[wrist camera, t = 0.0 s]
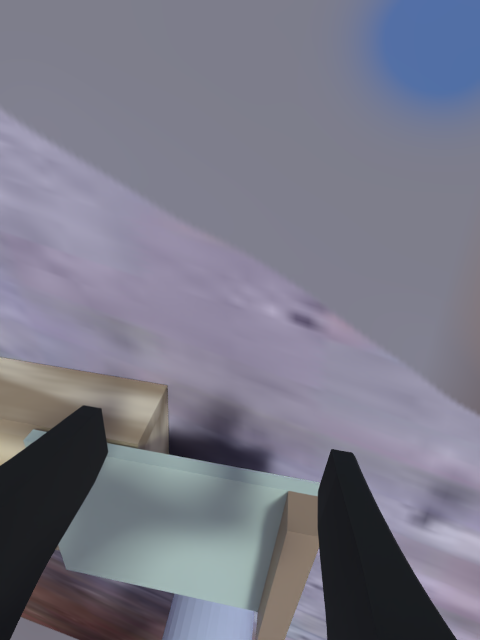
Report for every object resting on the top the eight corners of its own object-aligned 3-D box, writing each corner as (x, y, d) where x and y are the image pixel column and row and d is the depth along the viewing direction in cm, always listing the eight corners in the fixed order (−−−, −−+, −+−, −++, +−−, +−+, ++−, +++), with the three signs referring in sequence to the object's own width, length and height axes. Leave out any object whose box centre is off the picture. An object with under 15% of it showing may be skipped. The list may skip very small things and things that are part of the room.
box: (170, 507, 30) (149, 570, 26) (2, 473, 32) (-44, 528, 28) (167, 385, 23) (137, 444, 19) (-49, 349, 25) (-121, 396, 20)
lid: (280, 603, 25) (278, 654, 23) (72, 557, 26) (49, 601, 24) (319, 482, 18) (322, 537, 16) (32, 429, 19) (-5, 472, 17)
